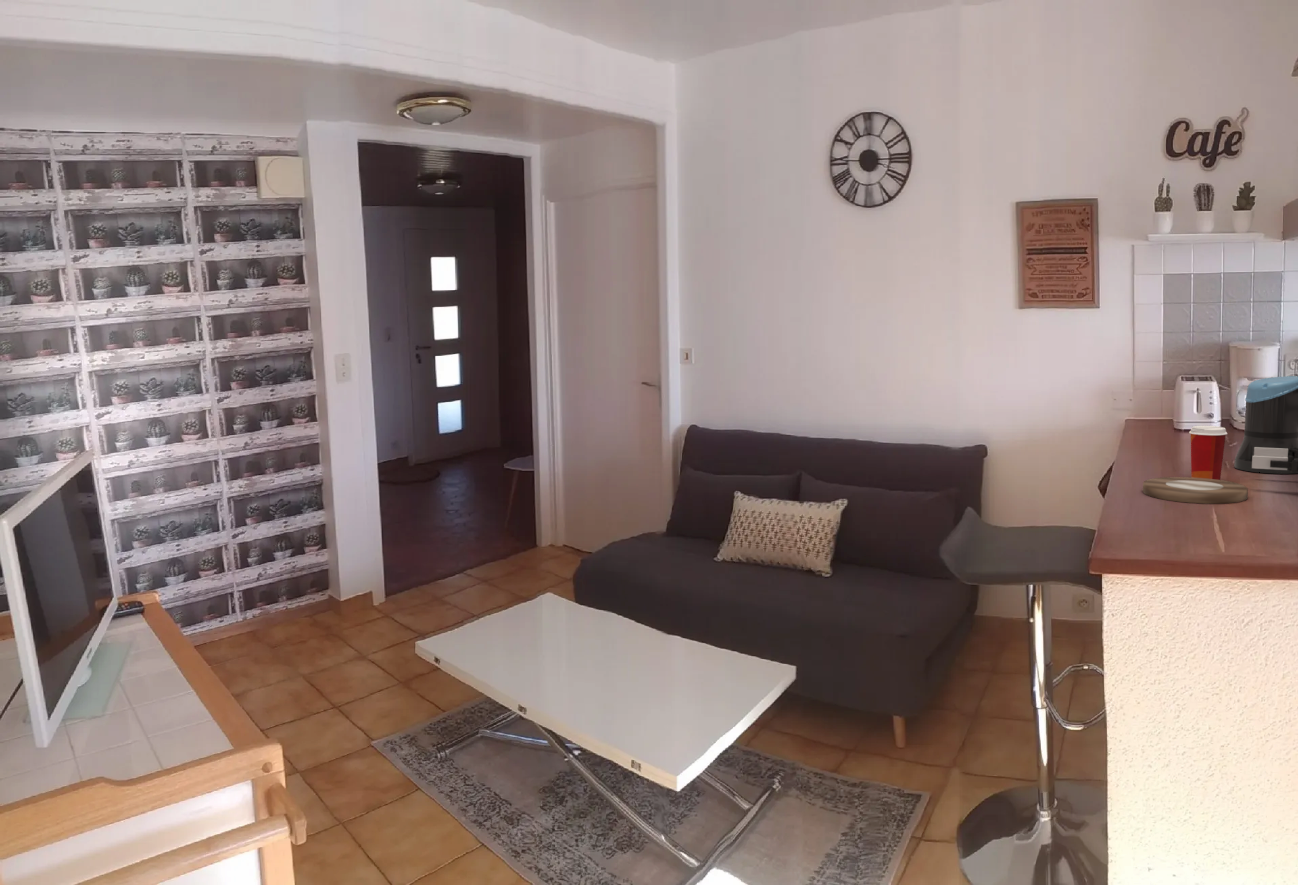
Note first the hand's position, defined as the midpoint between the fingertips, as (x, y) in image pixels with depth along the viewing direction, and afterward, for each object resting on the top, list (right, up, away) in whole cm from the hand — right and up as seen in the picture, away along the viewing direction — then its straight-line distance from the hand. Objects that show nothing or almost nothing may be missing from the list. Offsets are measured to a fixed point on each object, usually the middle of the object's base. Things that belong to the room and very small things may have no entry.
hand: (1252, 457), depth 210 cm
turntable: (-18, -8, -7) cm, 21 cm away
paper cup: (-7, -7, +7) cm, 12 cm away
